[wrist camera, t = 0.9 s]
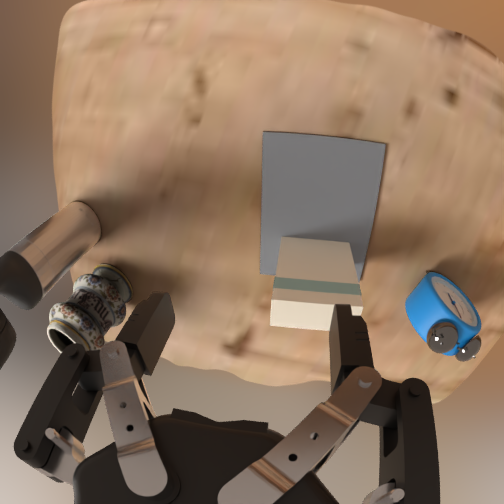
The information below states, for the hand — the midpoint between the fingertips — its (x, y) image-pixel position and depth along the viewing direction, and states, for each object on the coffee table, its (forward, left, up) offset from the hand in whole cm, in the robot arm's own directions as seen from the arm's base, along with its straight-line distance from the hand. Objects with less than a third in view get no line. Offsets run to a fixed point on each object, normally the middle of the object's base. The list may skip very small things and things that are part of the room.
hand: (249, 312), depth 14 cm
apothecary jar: (-41, -2, -29) cm, 50 cm away
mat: (0, -9, -28) cm, 30 cm away
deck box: (-3, -14, -28) cm, 31 cm away
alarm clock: (+12, -31, -29) cm, 43 cm away
